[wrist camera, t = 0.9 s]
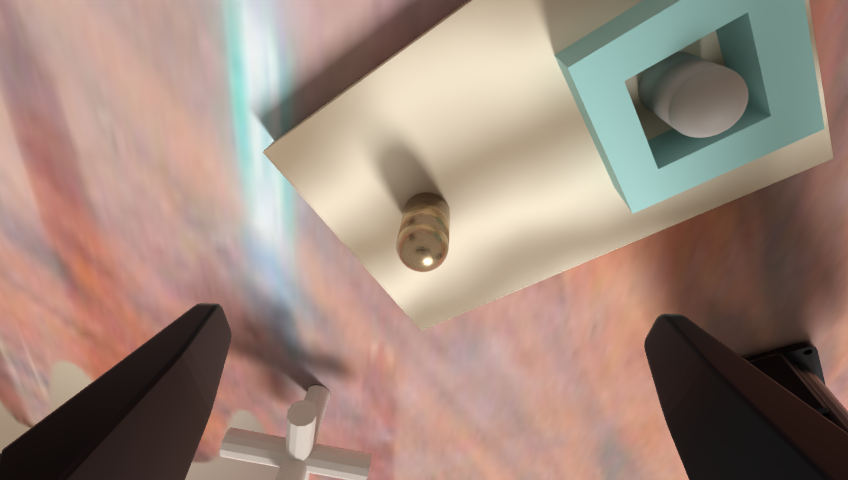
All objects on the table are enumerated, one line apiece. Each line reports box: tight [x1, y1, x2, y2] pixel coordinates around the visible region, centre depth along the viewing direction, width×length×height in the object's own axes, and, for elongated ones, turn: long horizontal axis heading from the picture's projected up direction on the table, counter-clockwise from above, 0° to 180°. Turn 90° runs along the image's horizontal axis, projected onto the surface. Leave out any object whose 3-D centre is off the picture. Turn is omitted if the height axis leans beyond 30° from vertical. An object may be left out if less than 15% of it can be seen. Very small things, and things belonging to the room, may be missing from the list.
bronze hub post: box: [396, 192, 450, 272], centre depth 20 cm, size 2×2×4 cm
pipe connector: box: [220, 385, 372, 480], centre depth 29 cm, size 10×10×10 cm
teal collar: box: [554, 0, 825, 214], centre depth 16 cm, size 7×7×2 cm
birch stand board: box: [263, 0, 833, 331], centre depth 18 cm, size 14×22×6 cm, turn 123°
